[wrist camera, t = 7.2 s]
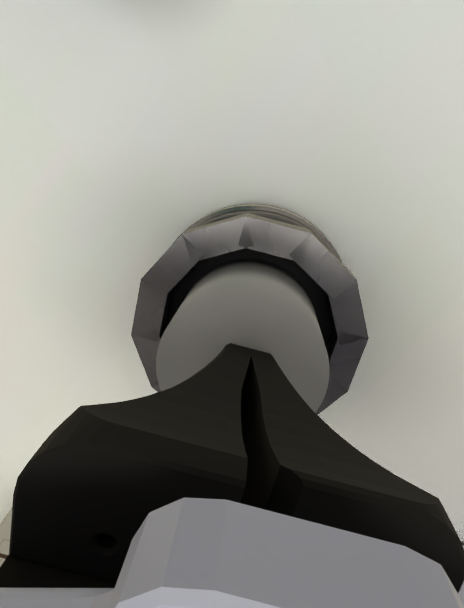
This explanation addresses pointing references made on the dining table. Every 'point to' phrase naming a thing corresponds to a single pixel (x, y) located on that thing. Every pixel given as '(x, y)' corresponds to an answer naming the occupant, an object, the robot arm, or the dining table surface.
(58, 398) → the dining table surface
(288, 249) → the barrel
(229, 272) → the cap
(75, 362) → the dining table surface
